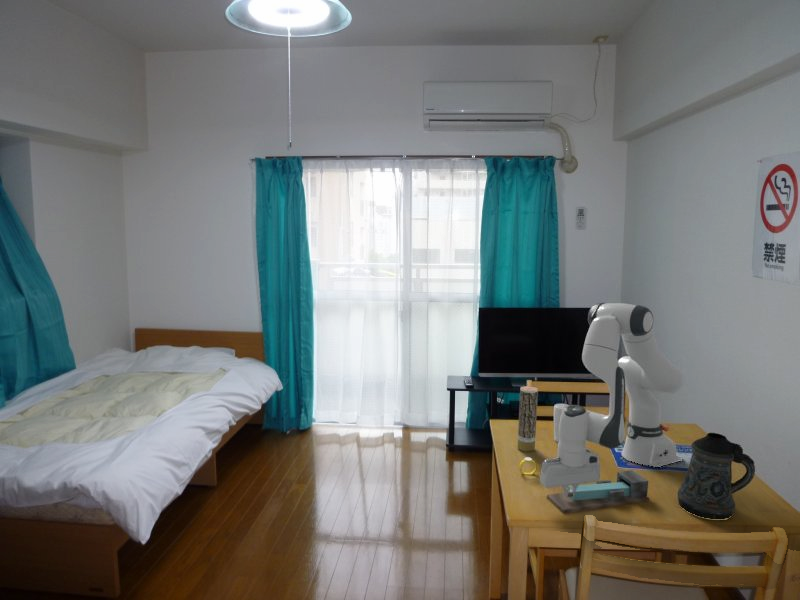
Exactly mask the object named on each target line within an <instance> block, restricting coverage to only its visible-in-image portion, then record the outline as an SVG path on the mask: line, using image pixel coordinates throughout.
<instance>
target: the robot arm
mask: <svg viewBox="0 0 800 600" xmlns="http://www.w3.org/2000/svg"><path fill="white" fill-rule="evenodd" d="M587 322H588V325H589V328H588V331H587V333H586V336H585V340H584V344H583V348H582V353H581V360H582V363H583V366H585V368H586V369H587V371H588V372H590V373H591V374H593V375H594V376H596V377H598V378H599V379H600V380H602V381H603V382H604V383H606V385H607V387H608V390H609V404H608V405H609V410H608V411H609V413H608V414H606V415H605V414H603V413H599V412H595V411H592V410H588V409H586V408H585V407H583V406H582V405H579V404H570V405H569V404H568V405H569V406H566V407H564V408H563V410H562V413H561V417H560V423H559V437H560V439H559V442H557V454H556V455H557V456H556V457H553V458H550V457H549V458H546V459H545V460H544V461H542V463H541V471H540V477H539V483H540V484H541V485H542V486H543V487H545V488H546V489H551V488H558V487H561V488H562V490H563V493H564V496H565V497H572V496H574V493H575V491H576V489H577V488H578V485H583V484H589V483H590V484H591V483H596V482H597V481H600V479H601V464H600V461H601V457H600V456H599V455H598V454H597V453H595V452H594V451H592V450H591V449H589V448H587V445H586V442H590V443H594V444H597V445H599V446H601V447H605V448H607V449H609V450H613V449H616V448H617V447H620V446H621V445H623V443H624V446H623V448H622V451H621V457H623V458H624V459H625V460H627V461H629V462H631V461H632V463H634V462H635V464H637V463H638V465H642V464H643V466H648V465H649V466H648V467H651V466H653V468H655V467H660V468H662V467H661V466H663V465H667V464H670V463H672V462H675V461H678V460H681V459H680V458H681V457H682V456H681V457H678V456H676V455H680V454H679V453H678V452H677V445H676V443H675V442H674V441H673V440H672V439H671V438H670V437H669V436H667V435H666V434H665V433H664V432H668V431H669V430H670V427H669V426H668V425H666V424H663V425H662V424H661V417H662V415H661V414H662V406H661V403H660V401H659V400H658V399H657V398H656V397H655V396H654V395H653V394H652V391H653V392H656V393H660V394H668V395H669V394H670V395H672V394H673V395H674V394H677V393H678V392H680V390H681V389H682V388H683V385H684V383H685V378H684V374H683V372H682V370H681V369H680V368H678V367H677V366H675V365H674V364H673V363H672V362H670V360H669V359H668V358H667V357H666V356H665V355H664V353H663V352H662V351H661V349H660V347H659V344H658V341H657V339H656V334H655V331H654V327H653V325H654V316H653V312H652V311H651V310H650V309H649V307H646V306H643V305H640V304H638V305H635V304H630V303H625V302H624V303H623V302H619V303H616V302H615V303H614V302H609V303H608V302H607V303H606V302H598V303H594V304H593V305H592V306H591V308H590V309H589V311H588V313H587ZM621 338H622V342H623V346H624V350H625V353H626V354H627V355H625V356H622V357H621V358H619V359H618V355H619V354H618V353H619V349H620V342H621ZM626 393H627V396H628V397H627V398H628V400H629V401H628V402H629V405H628V406H629V408H628V409H629V410H628V411H629V412H628V419H627V423H626V422H625V421H626V420H625V418H626V417H625V410H626V409H625V405H626V403H625V401H626ZM663 431H664V432H663ZM624 441H625V442H624ZM667 466H668V465H667ZM663 467H664V466H663ZM568 486H571V488H570V489H569V490H568Z"/></svg>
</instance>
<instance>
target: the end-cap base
mask: <svg viewBox="0 0 800 600" xmlns="http://www.w3.org/2000/svg"><path fill="white" fill-rule="evenodd" d="M616 472H617V474H616V482H624V483H626V484H627V485H628V486H629V487H630V496H624V490H617V491H609V498H598V499H585V500H573V499H572V498H571V497H565V496H564V492H557V493H551V494H546V498H547V499H548V501H550V502H551V503H552V504H553V505H554V506H555V507H556V508H557V509H558V510H559V511H560V512H561V513H562V514H565V513H573V512H579V511H587V510H593V509H599V508H607V507H614V506H621V505H627V504H628V505H629V504H634V503H635V502H636V503H642V502H641V501H643V502H648V501H647V500H649V501H650V497H649V496H648V492H649V491H648V488H649V480H648V479H646V478H645V477H643V476H642V475H641V474H639V473H637V472H636V471H635V470H633V469H631V470H623V471H622V470H621V471H616ZM602 483H612V481H611V480H610V479H606V480H598V481H597V482H595V484H602Z"/></svg>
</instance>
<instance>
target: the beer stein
mask: <svg viewBox="0 0 800 600" xmlns="http://www.w3.org/2000/svg"><path fill="white" fill-rule="evenodd" d="M691 452H692V453H691V457H690V461H689V464H688V468H687V471H686V474H685V477H684V478H683V481H682V484H681V485H680V487H679V488H678V490H677V499H678V506H679V505H680V506H681V507H682V508H684V509H685V510H686V511H688V512H690V513H692V514H695V515H697V516H700V517H704V518H710V519H725V518H729V517H730V516H732V514H733V515H734V512H735V510H736V503H735V500H734V496H733V494H734V493H737V492H739V491H741V490H742V489H744V488H745V487H746V486H748V485H749V484H750V483H751V482H752V481H753V479H754V477H755V474H756V466H755V461H754V460H753V459H752V458H751V456H749V455H748V454H746V453H744V449H743V447H742V446H741V445H740V444H739V443H734V442H731V441H730V440H729V439H728V438H727V437H726V436H725V435H723V434H720V433H716V432H708V433H707V434H706V435H705V436H704V437H700V438H698V439H696V440H694V441H693V442H692V443H691ZM732 462H734V463H737V464H742V465H743V466H744V467H745V469H746V470H745V473H744V475H743V476H742V477H741V478H740V479H738V480H736V481H735V482H732V477H733V471H732V464H733V463H732ZM680 506H679V507H680ZM681 507H680V508H681ZM682 508H681V509H682ZM685 510H684V511H685ZM686 511H685V512H686ZM692 514H691V515H692ZM732 517H733V516H732Z"/></svg>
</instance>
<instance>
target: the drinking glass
mask: <svg viewBox="0 0 800 600" xmlns="http://www.w3.org/2000/svg"><path fill="white" fill-rule="evenodd" d="M566 406H569V404H566V403H556V404H554V406H553V433H554V434H553V439H554V442H556V443H559V439H560V437H559V423H560V417H561V413H562V410H563V408H564V407H566Z"/></svg>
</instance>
